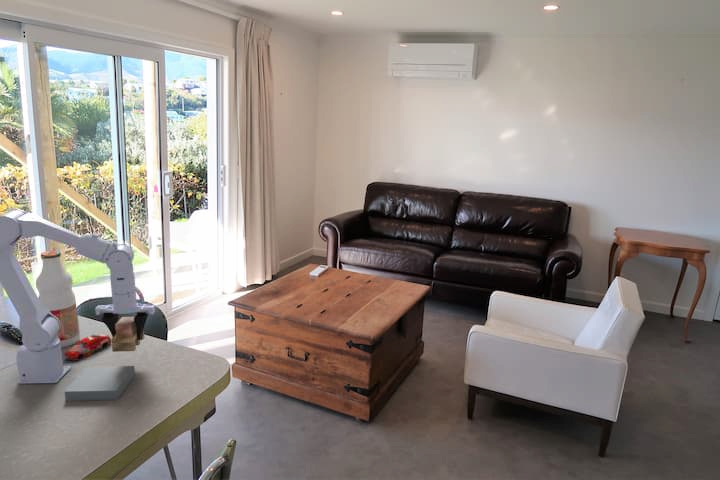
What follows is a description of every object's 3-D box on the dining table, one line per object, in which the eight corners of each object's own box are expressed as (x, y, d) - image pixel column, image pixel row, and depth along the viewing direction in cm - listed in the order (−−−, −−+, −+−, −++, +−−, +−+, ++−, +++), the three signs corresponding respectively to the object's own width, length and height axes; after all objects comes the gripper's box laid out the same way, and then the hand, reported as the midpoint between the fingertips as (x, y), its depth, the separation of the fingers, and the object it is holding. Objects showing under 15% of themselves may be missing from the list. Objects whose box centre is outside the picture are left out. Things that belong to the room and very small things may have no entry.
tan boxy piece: (112, 351, 128) (111, 339, 128) (124, 338, 136) (122, 326, 135) (134, 351, 129) (133, 338, 128) (144, 337, 137) (143, 326, 136)
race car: (73, 364, 136) (71, 351, 135) (60, 359, 138) (58, 346, 137) (114, 344, 147) (113, 332, 146) (102, 341, 149) (101, 329, 148)
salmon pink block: (116, 336, 129) (114, 324, 128) (123, 328, 134) (122, 316, 133) (132, 336, 130) (130, 324, 129) (138, 328, 134) (137, 316, 133)
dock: (65, 400, 118) (64, 391, 117) (88, 375, 130) (87, 366, 129) (117, 399, 119) (116, 390, 118) (135, 374, 131) (134, 365, 130)
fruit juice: (83, 343, 147) (72, 254, 140) (46, 352, 141) (32, 259, 134) (77, 332, 154) (66, 246, 147) (42, 340, 148) (29, 251, 141)
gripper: (156, 285, 133) (160, 331, 137) (101, 285, 132) (106, 332, 135) (148, 295, 126) (152, 343, 130) (89, 295, 125) (95, 343, 128)
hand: (128, 338), depth 132 cm, fingers closed on tan boxy piece, 5 cm apart
